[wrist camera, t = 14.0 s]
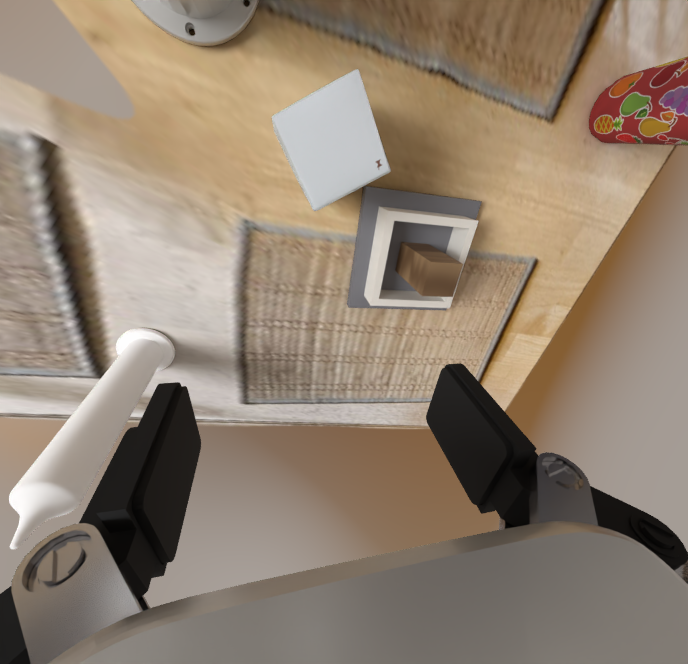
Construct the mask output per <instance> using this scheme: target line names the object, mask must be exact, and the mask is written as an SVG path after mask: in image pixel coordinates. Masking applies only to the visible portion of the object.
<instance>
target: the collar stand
mask: <svg viewBox="0 0 688 664" xmlns="http://www.w3.org/2000/svg"><path fill="white" fill-rule="evenodd" d="M480 205H481V201H476V200H469V199H461V198H453V197H446V196H438V195H430V194H423V193H415V192H407V191H400V190H392V189H384V188H377V187H369V186H364V188H363V195H362V202H361V209H360V216H359V223H358V230H357V237H356V244H355V251H354V259H353V266H352V273H351V280H350V287H349V294H348V301H347V305H348V307H352V308H385V309H418V310H446V309H447V308H450V306H451V303H452V300H453V297H454V294H455V291H456V288H457V285H458V282H459V279H460V276H461V273H462V270H463V267H464V264H465V261H466V258H467V255H468V252H469V249H470V246H471V243H472V240H473V237H474V234H475V231H476V228H477V225H478V222H479V221H478V220H476V217H477V214H478V211H479V208H480ZM401 242H409V243H422V244H429V245H431V246H433V247H434V248H436V249H438V250H440V251H441V252H443V253H445V254H447V255H448V256H450V257H452V258H454V259H455V260H457V261H459V262H461V263H462V264H463V266H462V270H461V273H460V276H459V279H458V282H457V285H456V288H455V291H454V294H453V297H436V296H421V295H420V294H419V293H418V292H417V291H416V290H415V289H414V288H413V287H412V286H411V285H410V284H409V283H408V282H407V281H406V280H404V279H403V278H402V277H401V276H400V275H399V274H398V273H397V272H396V271H395V269H396V264H397V259H398V255H399V250H400V245H401Z"/></svg>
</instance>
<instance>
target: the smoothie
mask: <svg viewBox="0 0 688 664" xmlns="http://www.w3.org/2000/svg"><path fill="white" fill-rule="evenodd" d="M589 129H590V131H591V134H592V135H593V136H595V137H596V138H598V139H599V140H600V141H601V142H605V143H625V144H656V145H688V57H685V58H682V59H678V60H675V61H672V62H669V63H665V64H662V65H659V66H656V67H652V68H649V69H646V70H643V71H639V72H636V73H633V74H629V75H626V76H624V77H622V78H620V79H619V80H617V81H616V82H615V83H614V84H613V85H611V86H610V87H608V88H606V89H605V91H604V92H603V93H602V94H601V95H600V96H599V97H598V99H597V101H596V102H595V104H594V106H593V108H592V111H591V114H590V119H589Z"/></svg>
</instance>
